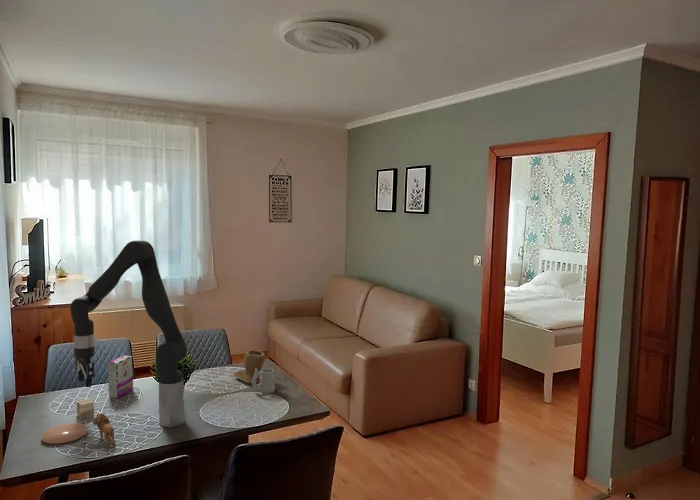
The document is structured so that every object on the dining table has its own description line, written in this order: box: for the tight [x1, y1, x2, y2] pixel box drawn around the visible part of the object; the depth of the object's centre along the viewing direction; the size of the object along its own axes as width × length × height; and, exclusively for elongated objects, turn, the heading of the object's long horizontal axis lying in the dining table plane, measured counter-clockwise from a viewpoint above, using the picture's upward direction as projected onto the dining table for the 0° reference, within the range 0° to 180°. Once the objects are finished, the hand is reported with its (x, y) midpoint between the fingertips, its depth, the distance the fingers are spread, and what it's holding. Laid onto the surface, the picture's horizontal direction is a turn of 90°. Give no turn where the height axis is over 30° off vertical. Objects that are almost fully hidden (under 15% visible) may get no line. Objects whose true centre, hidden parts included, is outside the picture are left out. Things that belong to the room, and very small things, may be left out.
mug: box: [251, 367, 276, 394], centre depth 236 cm, size 8×12×12 cm, turn 129°
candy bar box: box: [107, 355, 134, 399], centre depth 229 cm, size 11×5×16 cm, turn 168°
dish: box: [40, 422, 88, 445], centre depth 187 cm, size 15×15×2 cm
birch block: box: [75, 398, 95, 420], centre depth 206 cm, size 5×5×6 cm
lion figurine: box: [91, 412, 117, 449], centre depth 184 cm, size 15×5×9 cm, turn 50°
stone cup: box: [233, 349, 266, 385], centre depth 251 cm, size 15×12×15 cm
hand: (84, 383), depth 205 cm, fingers open, 8 cm apart
